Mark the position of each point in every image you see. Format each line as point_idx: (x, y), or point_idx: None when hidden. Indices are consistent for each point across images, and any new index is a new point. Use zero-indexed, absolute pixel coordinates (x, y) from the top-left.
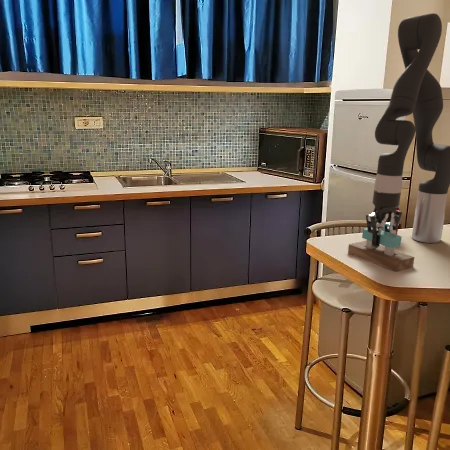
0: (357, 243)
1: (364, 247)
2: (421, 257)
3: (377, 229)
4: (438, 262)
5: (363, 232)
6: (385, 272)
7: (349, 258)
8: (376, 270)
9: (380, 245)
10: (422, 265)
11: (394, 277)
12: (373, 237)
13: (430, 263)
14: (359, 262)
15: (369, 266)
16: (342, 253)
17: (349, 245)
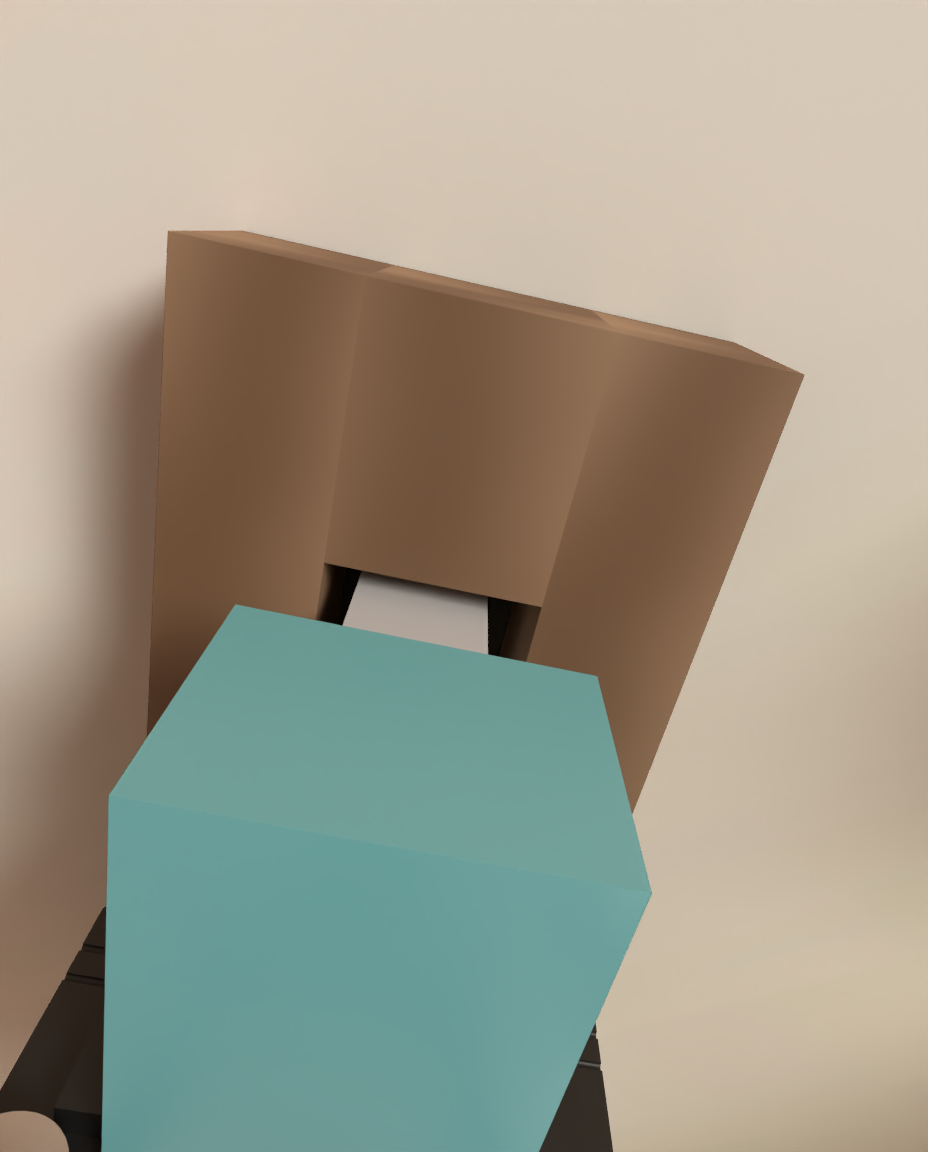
0: (403, 357)
1: (274, 606)
2: (905, 1009)
3: (491, 1098)
4: (839, 1140)
5: (172, 729)
6: (59, 943)
7: (37, 417)
8: (14, 867)
9: (659, 741)
10: (611, 1082)
11: (28, 1033)
12: (27, 1063)
13: (743, 1107)
14: (41, 614)
15: (45, 766)
16: (135, 157)
17: (174, 260)
